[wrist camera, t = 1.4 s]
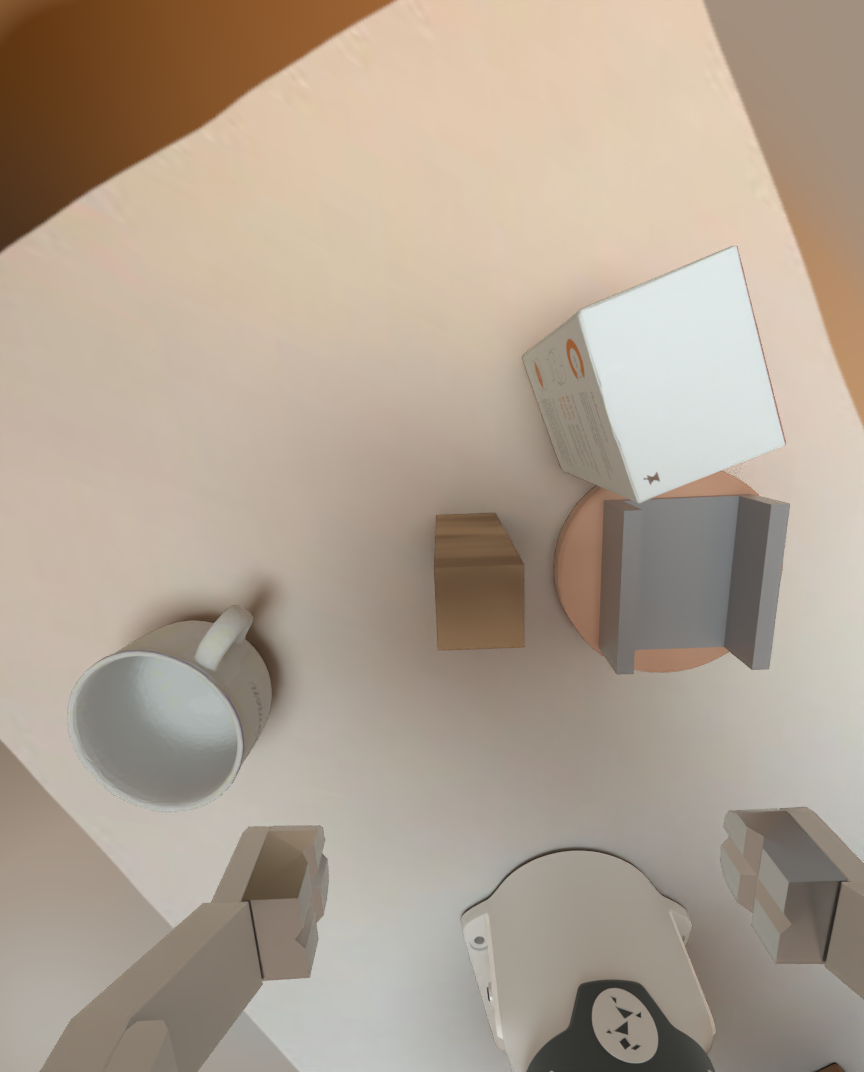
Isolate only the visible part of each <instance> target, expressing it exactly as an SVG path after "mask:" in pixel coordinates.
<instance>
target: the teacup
mask: <svg viewBox="0 0 864 1072" xmlns="http://www.w3.org/2000/svg"><path fill="white" fill-rule="evenodd" d="M252 622H253V616H252V615H251V613H250V612H249V611H248V610H246V609H244V608H243V607H241V606H237V605H234V606H231V607H230V608H228V609H227V610H226V611H225V612H223V613H222V615H221V616H220V617H219V618H218V619H217V620H216V621H215V623H211V622H206V621H195V620H193V621H182V622H176V623H173V624H169V625H166V626H163V627H160V628H158V629H156V630H154V631H152V632H150V633H148V634H146V635H145V636H143V637H141V638H139V639H137V640H136V641H134V642H132V643H130V644H129V645H127V646H126V647H124V648H122V649H121V650H119V651H118V652H116V653H114V654H112V655H110V656H107V657H105V658H103V659H101V660H99V661H98V662H97V663H95V664H94V665H93V666H91V667H90V668H89V669H88V670H87V671H86V672H85V673H84V674H83V675H82V676H81V677H80V679H79V680H78V681H77V683H76V685H75V687H74V689H73V691H72V693H71V696H70V700H69V704H68V712H67V724H68V730H69V735H70V739H71V742H72V745H73V747H74V750H75V752H76V753H77V756H78V757H79V759H80V760H81V762H82V763H83V765H84V767H85V768H86V769H87V770H88V771H89V772H90V774H91V775H92V776H93V777H94V778H95V779H96V781H98V782H99V783H100V784H102V785H103V786H104V787H105V788H106V789H107V790H108V791H109V792H110V793H111V794H113V795H114V796H117V797H119V798H121V799H123V800H125V801H127V802H129V803H131V804H133V805H135V806H137V807H142V808H145V809H149V810H152V811H160V812H180V811H187V810H192V809H196V808H199V807H201V806H204V805H206V804H208V803H210V802H211V801H213V800H215V799H216V798H218V797H219V796H221V795H222V794H223V792H224V791H226V790H227V789H228V787H229V786H230V785H231V784H232V783H233V781H234V779H235V778H236V776H237V774H238V772H239V770H240V767H241V765H242V763H243V762H244V760H245V759H246V757H247V756H248V754H249V753H250V751H251V749H252V748H253V746H254V744H255V743H256V741H257V739H258V737H259V736H260V734H261V732H262V730H263V728H264V726H265V723H266V721H267V719H268V715H269V712H270V708H271V701H272V687H271V681H270V676H269V672H268V670H267V668H266V665H265V663H264V661H263V660H262V658H261V656H260V655H259V653H258V652H257V651H256V649H255V648H254V647H253V646H252V645H251V644H250V643H249V642H248V641H247V640H246V639H245V637H246V634H247V632H248V630H249V628H250V626H251V624H252Z"/></svg>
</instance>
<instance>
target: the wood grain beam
mask: <svg viewBox="0 0 864 1072" xmlns="http://www.w3.org/2000/svg"><path fill="white" fill-rule="evenodd" d="M434 577H435V598H436V619H437V640H438V650H463V649H492V648H520V647H524V563H523V562H522V560H521V558H520V556H519V555H518V553H517V551H516V549H515V547H514V546H513V544H512V542H511V540H510V539H509V537H508V535H507V533H506V531H505V530H504V528H503V526H502V524H501V523H500V521H499V519H498V517H497V515H496V514H495V513H477V514H453V515H436V532H435V557H434Z"/></svg>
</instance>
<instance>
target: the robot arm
mask: <svg viewBox="0 0 864 1072" xmlns="http://www.w3.org/2000/svg"><path fill="white" fill-rule="evenodd" d="M723 827H724V828H725V830H726V831H727V833H728V834H729V837H728V838H727V840H726V841H725V842H724V843H723V844H722V845H721V855H720V861H721V866H722V870H723V875H724V878H725V880H726V882H727V885H728V887H729V889H730V891H731V892H732V894H733V896H734V897H735V899H736V901H737V902H738V903H740V904H741V905H742V906H744V907H745V908H746V909H748V910H749V911H750V912H752V913H753V914H752V927H753V928H754V930H755V932H756V933H757V935H758V936H759V938H760V940H761V941H762V943H763V944H764V946H765V948H766V949H767V951H768V953H769V954H770V956H771V957H772V959H773V961H774V962H775V964H825V967H826V968H827V969H828V970H830V971H831V972H832V973H833V974H834V975H835V976H837V977H838V978H839V979H840V980H841V981H843V982H844V983H845V984H846V985H847V986H848V987H850V988H851V989H852V990H853V991H854V992H855V993H857V994H858V995H859V996H860V997H861V998H863V999H864V863H863V862H862V861H861V860H860V859H859V858H858V857H857V856H856V855H855V854H854V853H853V852H852V851H851V850H850V849H849V848H848V846H847V845H846V844H845V843H844V842H843V841H842V840H841V839H840V838H839V837H838V836H837V835H836V834H835V833H834V832H833V831H832V830H831V829H830V828H829V827H828V826H827V825H826V823H825V822H824V821H823V820H822V819H821V818H820V817H819V816H818V815H817V814H816V813H815V812H814V811H812V810H811V809H809V808H807V807H796V808H780V809H755V810H734V811H728V813H727V814H726V815H725V819H724V826H723ZM324 843H325V837H324V830H323V827H322V826H320V825H319V826H273V827H248V828H247V829H246V830H245V831H244V832H243V833H242V836H241V838H240V840H239V842H238V844H237V846H236V849H235V851H234V853H233V855H232V857H231V860H230V862H229V864H228V866H227V868H226V871H225V873H224V875H223V877H222V879H221V881H220V884H219V886H218V888H217V890H216V892H215V895H214V897H213V899H212V901H211V903H203V904H202V905H200V906H199V907H198V908H197V909H196V910H195V911H194V912H193V913H191V914H190V915H189V916H188V917H187V918H186V919H185V920H183V921H182V922H181V923H180V924H179V925H178V926H177V927H175V928H174V929H173V930H172V931H171V932H170V933H169V934H168V935H166V937H164V938H163V939H162V940H161V941H160V942H159V943H157V944H156V945H155V946H154V947H153V948H152V949H151V950H150V951H148V952H147V953H146V954H145V955H144V956H143V957H142V958H140V959H139V960H138V961H137V962H136V963H135V964H133V965H132V966H131V967H130V968H129V969H128V970H127V971H126V972H124V973H123V974H122V975H121V976H120V977H119V978H118V979H117V980H115V981H114V982H113V983H112V984H111V985H110V986H109V987H107V989H105V990H104V991H103V992H102V993H101V994H100V995H98V996H97V997H96V998H95V999H94V1000H93V1001H92V1002H91V1003H89V1004H88V1005H87V1006H86V1007H85V1008H84V1009H82V1010H81V1011H80V1012H79V1013H78V1014H77V1015H76V1016H75V1017H73V1018H72V1019H71V1021H70V1022H69V1024H68V1025H67V1027H66V1029H65V1030H64V1032H63V1034H62V1035H61V1037H60V1039H59V1040H58V1042H57V1044H56V1045H55V1047H54V1049H53V1050H52V1052H51V1054H50V1055H49V1057H48V1059H47V1060H46V1062H45V1064H44V1066H43V1067H42V1069H41V1070H40V1072H198V1070H199V1069H200V1068H201V1066H202V1065H203V1064H204V1062H205V1061H206V1060H207V1058H208V1057H209V1055H210V1054H211V1053H212V1052H213V1050H214V1049H215V1047H216V1046H217V1045H218V1043H219V1042H220V1040H221V1039H222V1038H223V1037H224V1035H225V1034H226V1033H227V1031H228V1030H229V1029H230V1027H231V1026H232V1025H233V1023H234V1022H235V1021H236V1019H237V1018H238V1017H239V1015H240V1014H241V1013H242V1011H243V1010H244V1009H245V1007H246V1006H247V1005H248V1003H249V1002H250V1001H251V999H252V998H253V997H254V995H255V994H256V993H257V991H258V990H259V989H260V987H261V986H262V985H263V982H262V981H267V980H282V979H297V978H310V974H311V970H312V965H313V961H314V956H315V952H316V947H317V943H318V932H317V924H316V923H317V922H318V921H319V920H320V918H321V917H322V916H323V915H324V911H325V906H326V901H327V893H328V883H329V870H328V860H327V858H326V857H325V856H324V855H323V854H322V851H323V847H324ZM461 924H462V931H463V936H464V939H465V943H466V946H467V950H468V953H469V956H470V960H471V963H472V966H473V970H474V973H475V977H476V980H477V983H478V987H479V990H480V993H481V997H482V1000H483V1004H484V1007H485V1010H486V1014H487V1017H488V1021H489V1024H490V1027H491V1031H492V1034H493V1037H494V1040H495V1043H496V1046H497V1047H498V1048H499V1049H500V1050H502V1051H504V1052H506V1053H507V1056H508V1059H509V1062H510V1065H511V1068H512V1071H513V1072H715V1070H714V1068H713V1065H712V1063H711V1061H710V1059H709V1057H708V1055H707V1054H708V1052H709V1051H710V1049H711V1046H712V1041H713V1035H714V1034H715V1033H716V1029H715V1024H714V1020H713V1017H712V1014H711V1012H710V1009H709V1007H708V1004H707V1001H706V999H705V996H704V994H703V991H702V989H701V986H700V983H699V981H698V978H697V976H696V973H695V971H694V968H693V966H692V963H691V961H690V958H689V956H688V953H687V951H686V948H685V946H686V943H687V941H688V938H689V935H690V932H691V929H692V924H691V921H690V918H689V916H688V913H687V911H686V910H685V909H684V908H683V907H682V906H681V905H679V904H677V903H676V902H674V901H672V900H670V899H668V898H666V897H664V896H662V895H661V894H660V893H659V892H658V891H657V890H656V889H655V888H654V886H653V885H652V884H651V882H650V881H649V880H648V879H647V878H646V877H645V875H644V874H642V873H641V872H640V871H639V870H638V869H637V868H635V867H634V866H632V865H631V864H629V863H627V862H625V861H623V860H621V859H619V858H616V857H614V856H611V855H608V854H604V853H599V852H592V851H565V852H559V853H554V854H549V855H546V856H543V857H540V858H537V859H535V860H533V861H531V862H529V863H527V864H525V865H523V866H522V867H520V868H519V869H517V870H516V871H514V872H513V873H512V874H511V875H510V876H509V877H507V878H506V879H505V881H504V882H503V883H502V884H501V885H500V886H499V888H498V889H497V890H496V891H495V893H494V894H493V895H492V896H491V897H490V898H489V899H488V900H486V901H484V902H482V903H480V904H478V905H476V906H474V907H473V908H471V909H470V910H468V911H467V912H466V913H465V914H464V915H463V916H462V919H461Z"/></svg>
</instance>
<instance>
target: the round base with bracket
mask: <svg viewBox="0 0 864 1072" xmlns="http://www.w3.org/2000/svg"><path fill="white" fill-rule="evenodd" d="M789 508H790V504H789V503H785V502H781V501H777V500H773V499H769V498H765V497H761V496H759V495H758V494H757V493H756V492H755V491H754V490H753V489H752V488H751V487H750V486H748V485H747V484H746V483H744V482H742V481H741V480H739V479H738V478H736V477H734V476H732V475H730V474H728V473H726V472H723V471H719V472H716V473H714V474H711V475H709V476H706V477H703V478H701V479H698V480H696V481H693V482H690V483H688V484H685V485H683V486H681V487H678V488H676V489H673V490H671V491H668V492H666V493H663V494H661V495H659V496H656V497H654V498H651V499H649V500H647V501H644V502H642V503H636V502H634V501H632V500H630V499H627V498H625V497H622V496H620V495H618V494H615V493H613V492H611V491H609V490H606V489H604V488H602V487H599V486H597V485H596V486H595V487H594V488H592V489H591V490H590V491H589V492H588V493H587V494H586V495H585V496H584V497H583V498H582V499H581V500H580V501H579V502H578V504H577V505H576V506H575V507H574V509H573V510H572V512H571V513H570V515H569V516H568V518H567V520H566V522H565V524H564V526H563V528H562V530H561V533H560V535H559V538H558V541H557V545H556V550H555V555H554V580H555V585H556V590H557V594H558V596H559V599H560V602H561V604H562V606H563V608H564V610H565V612H566V614H567V615H568V617H569V618H570V620H571V621H572V623H573V625H574V626H575V628H576V629H577V631H578V632H579V633H580V635H581V636H582V637H583V639H584V640H585V641H586V642H587V643H588V644H589V645H590V646H591V647H592V648H593V649H595V650H596V651H597V652H598V653H600V654H601V655H602V656H604V657H605V658H606V659H607V661H608V662H609V664H610V665H611V667H612V668H613V670H614V671H615V673H616V674H633V673H634V669H635V670H640V671H647V672H675V671H682V670H686V669H691V668H695V667H698V666H701V665H704V664H706V663H709V662H711V661H713V660H715V659H717V658H719V657H721V656H723V655H724V654H726V653H728V652H729V651H730V652H731V653H732V654H733V655H734V656H736V657H737V658H738V659H739V660H741V661H742V662H743V663H744V664H745V665H747V666H748V667H749V668H750V669H752V670H762V669H769V666H770V658H771V650H772V642H773V634H774V627H775V619H776V611H777V603H778V595H779V587H780V579H781V574H782V568H783V556H784V548H785V540H786V532H787V524H788V516H789Z"/></svg>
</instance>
